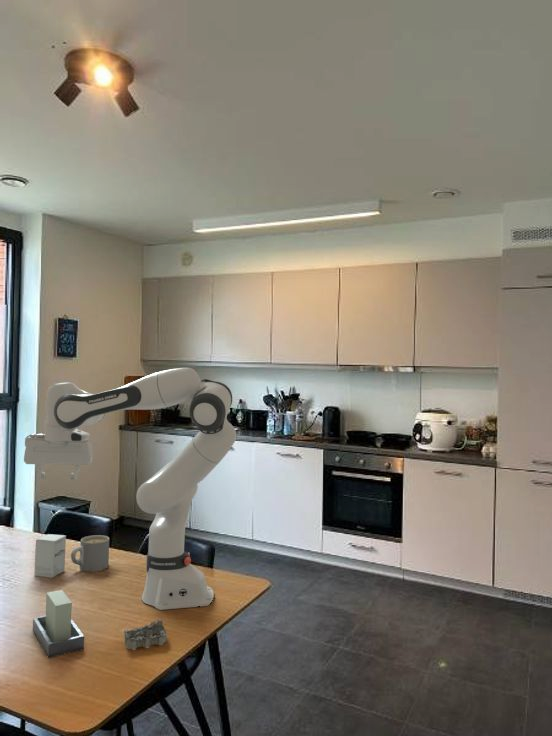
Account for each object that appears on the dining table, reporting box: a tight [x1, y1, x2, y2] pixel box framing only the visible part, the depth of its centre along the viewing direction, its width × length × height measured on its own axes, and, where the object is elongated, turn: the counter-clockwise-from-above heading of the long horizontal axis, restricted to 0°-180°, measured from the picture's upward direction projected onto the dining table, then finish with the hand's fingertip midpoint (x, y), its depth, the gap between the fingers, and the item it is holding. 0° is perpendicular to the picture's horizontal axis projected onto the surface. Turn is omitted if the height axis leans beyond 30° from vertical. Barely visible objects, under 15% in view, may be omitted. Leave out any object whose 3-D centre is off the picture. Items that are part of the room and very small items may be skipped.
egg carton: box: [123, 620, 168, 651], centre depth 146 cm, size 11×8×4 cm
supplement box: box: [34, 533, 67, 579], centre depth 193 cm, size 7×7×13 cm
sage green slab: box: [45, 589, 73, 642], centre depth 146 cm, size 4×10×10 cm, turn 35°
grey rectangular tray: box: [32, 614, 85, 659], centre depth 146 cm, size 9×18×3 cm, turn 35°
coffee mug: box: [70, 534, 110, 573], centre depth 200 cm, size 13×10×10 cm
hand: (58, 478), depth 173 cm, fingers open, 8 cm apart
